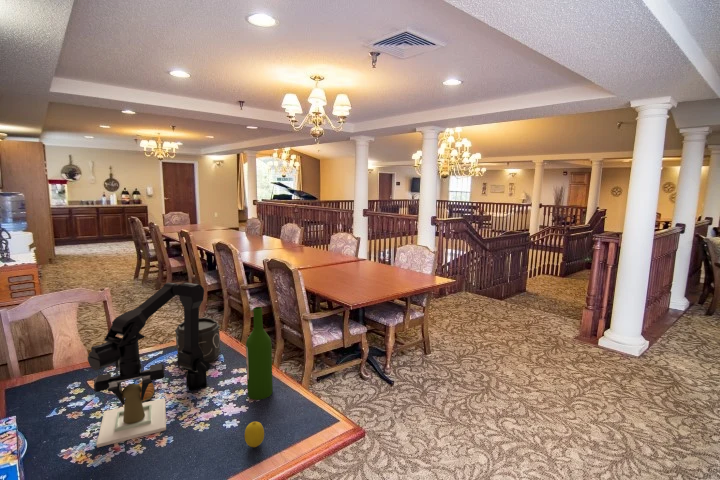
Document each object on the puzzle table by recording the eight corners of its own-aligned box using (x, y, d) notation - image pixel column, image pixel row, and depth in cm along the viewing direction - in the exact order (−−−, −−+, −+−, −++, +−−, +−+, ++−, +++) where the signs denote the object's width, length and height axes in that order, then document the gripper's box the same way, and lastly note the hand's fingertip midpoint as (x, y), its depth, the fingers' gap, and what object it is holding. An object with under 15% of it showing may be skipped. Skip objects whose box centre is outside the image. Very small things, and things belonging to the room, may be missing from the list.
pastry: (157, 399, 137) (156, 389, 136) (135, 405, 133) (134, 395, 132) (153, 387, 144) (152, 378, 144) (132, 393, 141) (131, 383, 140)
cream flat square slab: (165, 400, 136) (164, 395, 135) (166, 429, 120) (165, 424, 120) (104, 414, 127) (104, 408, 127) (96, 447, 112) (96, 441, 111)
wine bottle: (247, 388, 144) (244, 305, 139) (271, 385, 147) (269, 303, 141) (248, 401, 135) (244, 313, 130) (273, 397, 138) (271, 311, 133)
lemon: (247, 441, 115) (246, 416, 114) (265, 440, 116) (265, 415, 114) (243, 454, 110) (242, 428, 109) (262, 453, 110) (262, 427, 109)
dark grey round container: (230, 352, 173) (229, 319, 171) (201, 370, 157) (199, 334, 154) (199, 346, 180) (197, 314, 177) (167, 362, 163) (165, 327, 161)
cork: (135, 424, 120) (132, 392, 118) (118, 422, 121) (115, 389, 119) (149, 413, 126) (146, 382, 124) (133, 411, 127) (130, 380, 125)
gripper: (162, 340, 131) (165, 383, 134) (96, 351, 123) (101, 396, 125) (162, 354, 122) (165, 399, 124) (91, 366, 113) (96, 415, 116)
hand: (132, 401), depth 123 cm, fingers closed on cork, 5 cm apart
